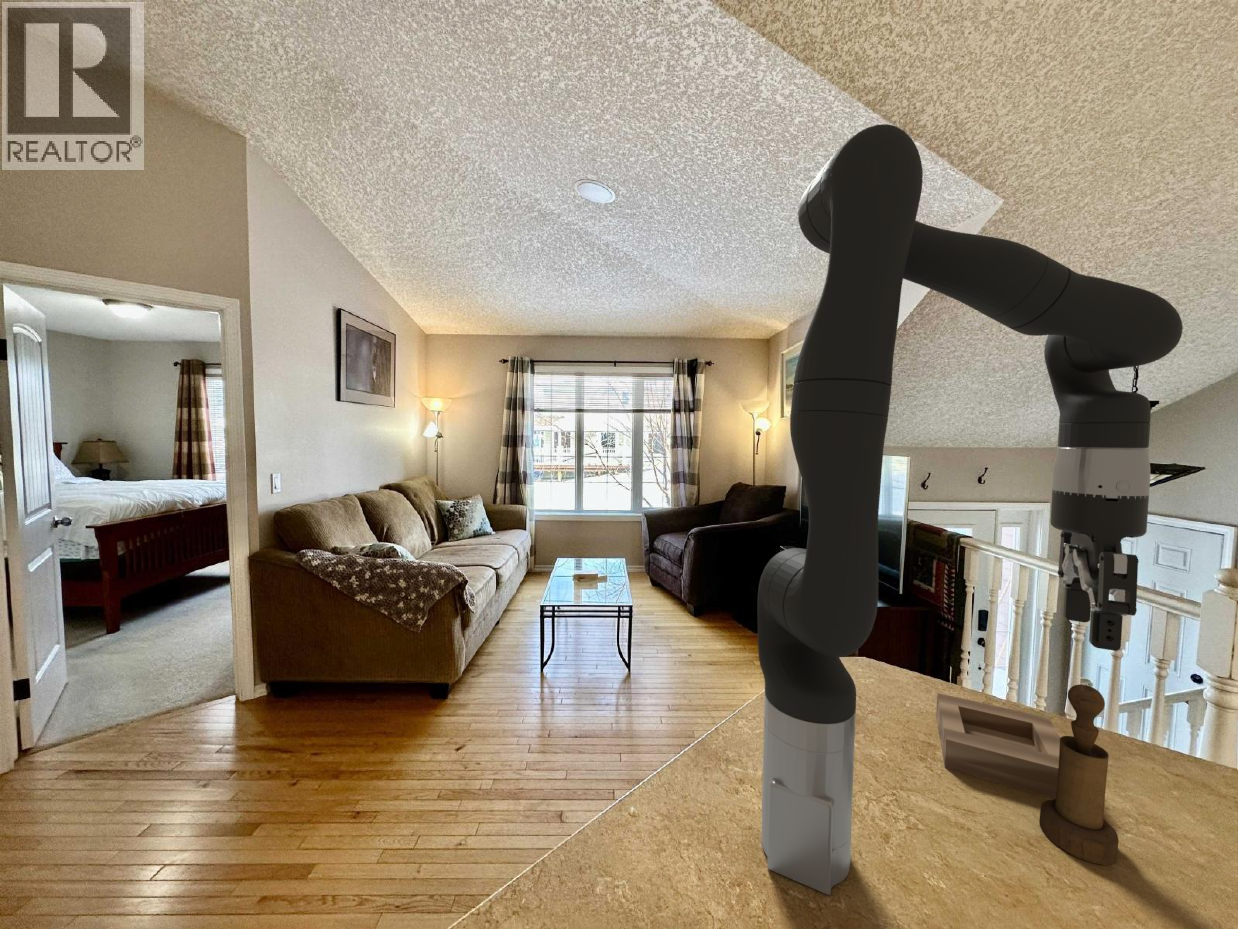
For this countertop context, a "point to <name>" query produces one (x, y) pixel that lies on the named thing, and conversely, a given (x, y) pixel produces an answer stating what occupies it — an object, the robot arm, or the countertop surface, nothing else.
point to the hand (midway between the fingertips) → (1089, 633)
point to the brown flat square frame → (999, 744)
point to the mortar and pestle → (1081, 787)
